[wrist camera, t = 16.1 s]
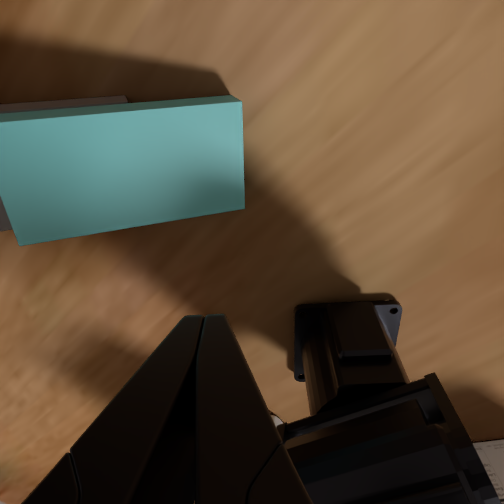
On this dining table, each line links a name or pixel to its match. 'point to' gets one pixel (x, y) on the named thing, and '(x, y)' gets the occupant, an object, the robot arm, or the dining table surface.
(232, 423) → the robot arm
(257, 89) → the dining table surface
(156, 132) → the teal domino
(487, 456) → the light bulb box
